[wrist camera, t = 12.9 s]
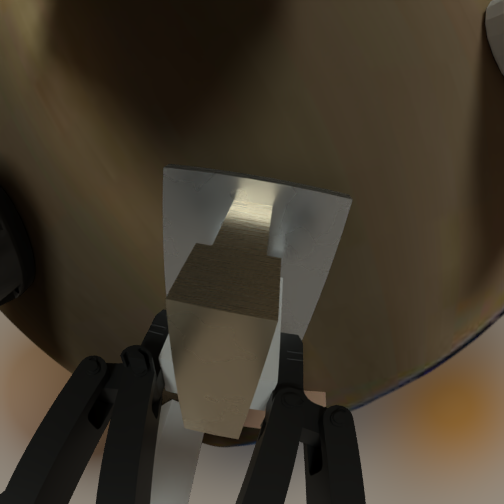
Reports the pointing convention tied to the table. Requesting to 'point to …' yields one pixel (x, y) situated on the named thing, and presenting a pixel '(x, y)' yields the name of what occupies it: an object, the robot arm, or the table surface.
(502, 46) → the bottle
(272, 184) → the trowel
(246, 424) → the tile
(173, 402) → the milk
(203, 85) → the table surface
